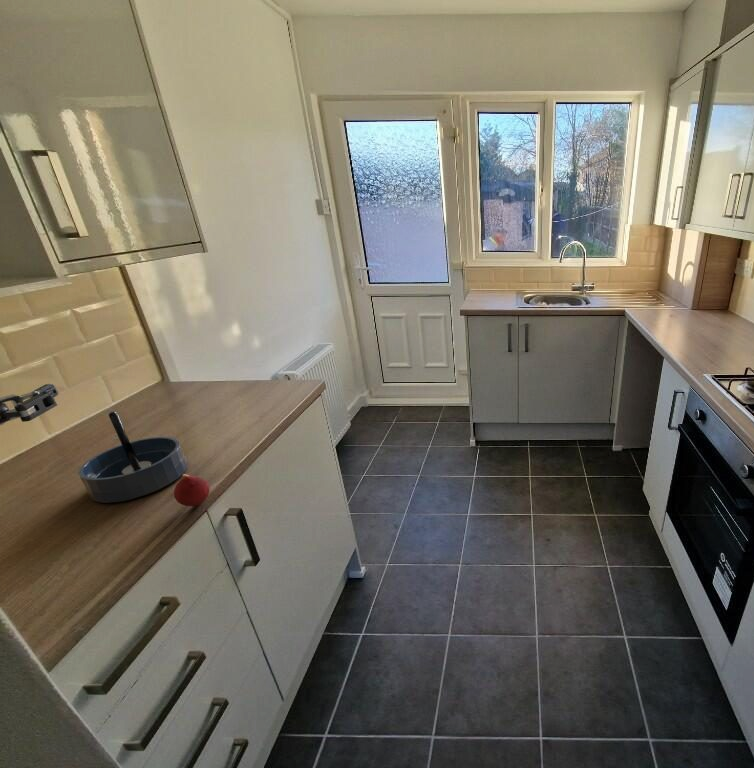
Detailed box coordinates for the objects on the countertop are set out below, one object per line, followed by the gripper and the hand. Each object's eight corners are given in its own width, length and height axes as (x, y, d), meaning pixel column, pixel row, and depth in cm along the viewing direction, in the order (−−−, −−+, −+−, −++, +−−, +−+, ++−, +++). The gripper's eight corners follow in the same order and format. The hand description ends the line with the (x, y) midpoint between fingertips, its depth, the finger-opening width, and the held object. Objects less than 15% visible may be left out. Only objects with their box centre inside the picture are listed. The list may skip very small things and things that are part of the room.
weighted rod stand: (125, 488, 92) (93, 420, 86) (127, 477, 96) (97, 411, 89) (155, 479, 95) (126, 412, 88) (156, 469, 99) (128, 404, 92)
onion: (215, 493, 91) (204, 463, 88) (212, 508, 86) (200, 477, 83) (182, 502, 88) (170, 471, 85) (178, 518, 84) (164, 486, 81)
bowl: (85, 516, 85) (71, 490, 82) (97, 476, 98) (85, 452, 95) (189, 484, 94) (179, 460, 92) (187, 451, 107) (179, 429, 105)
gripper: (-18, 407, 55) (64, 366, 69) (-166, 423, 51) (-48, 376, 65) (10, 455, 58) (83, 406, 72) (-128, 474, 54) (-23, 418, 68)
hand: (20, 392), depth 69 cm, fingers open, 8 cm apart
